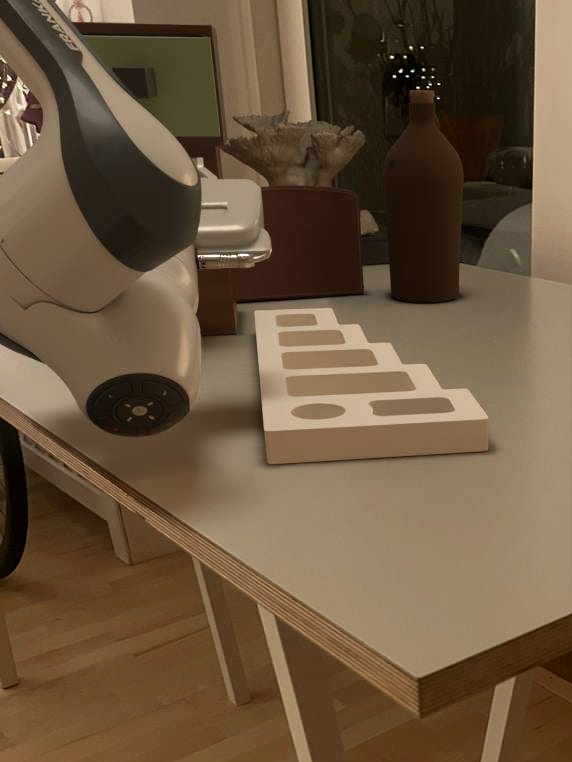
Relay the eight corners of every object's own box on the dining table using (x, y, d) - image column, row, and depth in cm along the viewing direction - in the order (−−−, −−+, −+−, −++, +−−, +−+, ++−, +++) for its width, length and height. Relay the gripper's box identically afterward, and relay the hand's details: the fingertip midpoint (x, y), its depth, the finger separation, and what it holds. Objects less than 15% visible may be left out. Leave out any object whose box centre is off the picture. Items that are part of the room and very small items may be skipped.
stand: (244, 337, 115) (211, 24, 99) (119, 342, 112) (65, 21, 97) (245, 312, 127) (216, 29, 111) (132, 316, 124) (85, 26, 109)
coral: (238, 273, 151) (220, 114, 140) (212, 253, 167) (195, 109, 156) (392, 263, 160) (387, 113, 149) (354, 245, 176) (347, 109, 165)
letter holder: (365, 294, 138) (360, 183, 131) (221, 304, 131) (208, 188, 124) (344, 282, 146) (338, 177, 139) (208, 291, 139) (194, 180, 132)
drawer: (217, 142, 90) (205, 34, 86) (58, 142, 88) (38, 31, 84) (223, 129, 110) (214, 41, 106) (93, 129, 107) (78, 38, 103)
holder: (256, 334, 116) (254, 310, 115) (407, 328, 120) (407, 305, 118) (267, 464, 78) (264, 431, 77) (489, 450, 82) (489, 418, 80)
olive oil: (446, 307, 131) (445, 91, 119) (374, 300, 134) (365, 90, 122) (473, 292, 140) (475, 90, 127) (405, 286, 143) (400, 89, 130)
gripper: (270, 228, 77) (259, 129, 84) (-11, 235, 73) (2, 130, 80) (276, 296, 82) (265, 197, 89) (14, 306, 78) (24, 201, 86)
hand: (138, 165), depth 85 cm, fingers open, 8 cm apart
